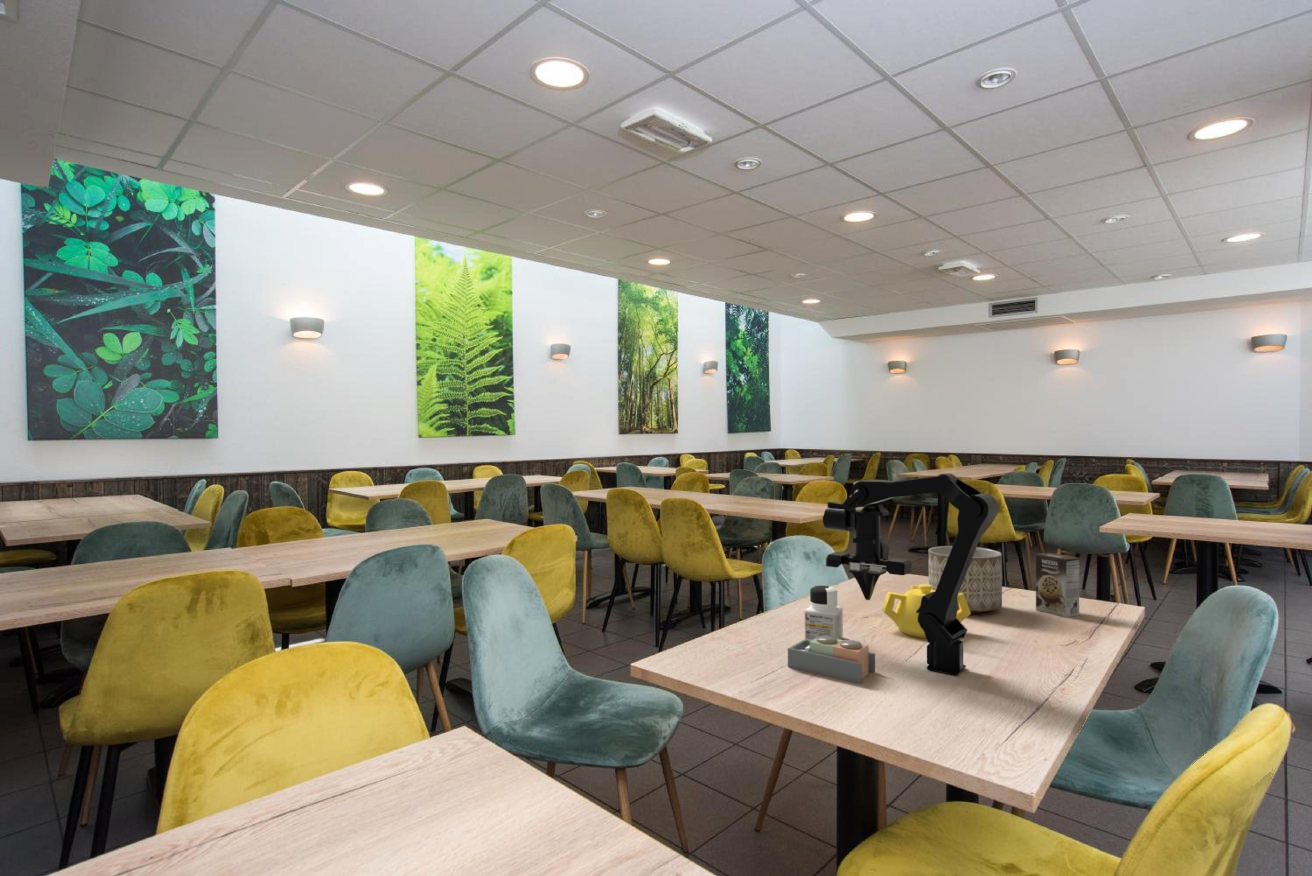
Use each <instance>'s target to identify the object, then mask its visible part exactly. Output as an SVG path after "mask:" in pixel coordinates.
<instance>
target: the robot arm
mask: <svg viewBox="0 0 1312 876" xmlns="http://www.w3.org/2000/svg"><path fill="white" fill-rule="evenodd" d="M932 493H933V494H935V493H939V494H941V495H942V496H943V497H944V499H946V500H947V501H948V502H949V504H950V505H952V506H953V507H954V508H955V509H957V510H958V513H957V520H956V521H957V523H956V524H957V533H956V536H955V539H954V542H953V544H952V545H951V546H952V549H951V552H950V554H949V557H948V559H947V562H946V565H945V567H944V570H943V573H942V575H941V578H940V580H939V583H938V586H937V588H936V590H935V592H934V591H933V592H931V593H929V594H926V595H924V596H923V597H922V599H921V605H920V607H919V609H918V610H917V611H916V613H919V614H918V623H919V625H920V627H921V628H922V629H923V630H924V633H925V636H926V638H925V639H926V641H927V643H928V644H927V645H926V664H927V666H926V669H927V670H928V671H933V672H934V671H935V672H937V673H938V672H939V673H944V674H948V675H954V676H960V674H962V672H963V671H964V670H965V669H966V666H967V665H966V664H964V640H963V639H964V638H965V637H966V635H967V632H968V629H967V628H966V627H965V625H963V624H962V622H960V621H959V620H958V619H957V618H956V616H957V610H958V601H957V597H958V593H959V591H960V588H961V585H962V583H963V580H964V578H965V575H966V573H967V570H968V568H969V565H970V562H971V560H972V557H973V555H974V552H975V550H976V547H978V545H979V542H980V539H981V538H982V536H983V535H984V534H985V532H986V531H987V530H988V529H989V528H990V527H991V525H992V523H993V522H994V520H995V519H996V517H997V516H998V514H999V512H1000V504H999V503H998V501H997V499H996V498H995V497H994V496H993V495H991V494H988V493H983V492H982V491H980V490H979V489H978V488H976V487H974V486H971V484H968V483H966V482H965V481H962V480H961V479H960V478H958V477H957V476H956V475H955V474H953V473H951V472H947V473H940V474H936V475H934V476H925V477H918V478H911V479H910V478H908V479H901V480H887V479H866V480H865V479H864V480H858V481H855V482H854V483H853V485H852V486H851V488H850V493H849V495H848V496H847V498H846V499H845V500H844V501H843V502H837V501H829V502H827V507H826V509H825V510H824V513H823V515H822V524H823V526H824V528H825V529H826V530H832V531H841V532H851V531H852V530H853V528H854V537H853V538H852V543H853V544H854V555H852V556H851V554H850V553H849V552H841V551H834V552H831V553H829V554H827V556H826V557H825V566H826V567H829V568H839V567H841V565H847V566H848V565H849V570H848V573H850V574H852V575H853V577H854V580H856V582H857V584H858V585H859V589H860V590H861V593H862V595H863V597H864V599H865V601H871V598H872V596H873V593H874V590H875V587H876V585H877V582H878V581H879V578H880V577H881V576H882V575H885V574H886V573H888V574H890V575H896V576H906V575H907V574H909V573H911V572H912V571H913V570H912V568H913V567H912V562H911V561H910V560H909V559H907V558H906V559H905V558H897V557H893V558H891V559H889V556H890V555H889V554H890V547H889V546H888V545H886V544H884V543H883V542H884V541H883V537H882V536H881V517H883V516H889V515H890V511H889V510H888V509H887V508H885V507H884V505H883V504H879V503H881V502H885V501H888V500H890V499H894V498H897V497H898V498H899V497H906V496H915V495H925V494H932ZM873 504H877V505H876V506H874V507H871V506H869V505H873ZM857 508H861V510H859V509H858V510H857Z"/></svg>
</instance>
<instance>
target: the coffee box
mask: <svg viewBox="0 0 1312 876" xmlns="http://www.w3.org/2000/svg"><path fill="white" fill-rule="evenodd" d="M1080 561H1081V558H1080V557H1076V556H1071V555H1064V554H1058V553H1053V552H1044V553H1043V552H1040V553H1036V554H1035V610H1036V611H1040V612H1043V613H1046V614H1051V615H1055V616H1059V617H1061V618H1062V617H1063V618H1071V617H1076V616H1080Z"/></svg>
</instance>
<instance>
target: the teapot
mask: <svg viewBox="0 0 1312 876" xmlns="http://www.w3.org/2000/svg"><path fill="white" fill-rule="evenodd" d="M918 587H919V588H918ZM931 589H932V586H931V585H929V584H927V583H923V584H922V583H921V584H918V585H912V584H911V585H910V589H908V590H907V591H906V592H905V593H904V594H903V593H902V594H901V593H897V592H891V591H888V592H887V593H886V597H885V600H884V601H883V606H882V608H881V611H882V612H883V613H884V614H885V615H886V616H888V618H890V619H891V620H892V621H893V623H894V624H895V626H896V627H897V628H898V630H900V631H901V632H902V633H903V634H905V635H908V636H912V637H916V638H921V639H926V636H925V633H924V630H923V629H922V628H921V627H920V625H919V623H918V614H919V613H916V611H917V610H918V609H919V607H920V605H921V599H922V597H923V596H924V595H926V594H929V593H931V592H933V591H934V592H935V590H931ZM896 600H899V601H898V603H897V606H896V608H895V611H894V606H895V601H896ZM957 600H958V604H959V608H960V609H959V610H958V611H957V616H956V618H957V619H958V620H959V621H960V622H961V623H962V622H963V621H964V620H966V618H968V617H969V616H970V615H971V614H972V613H971V612H970V610H969V607H968V604H967V601H966V599H965V596H964V594H963V593H958V597H957Z"/></svg>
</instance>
